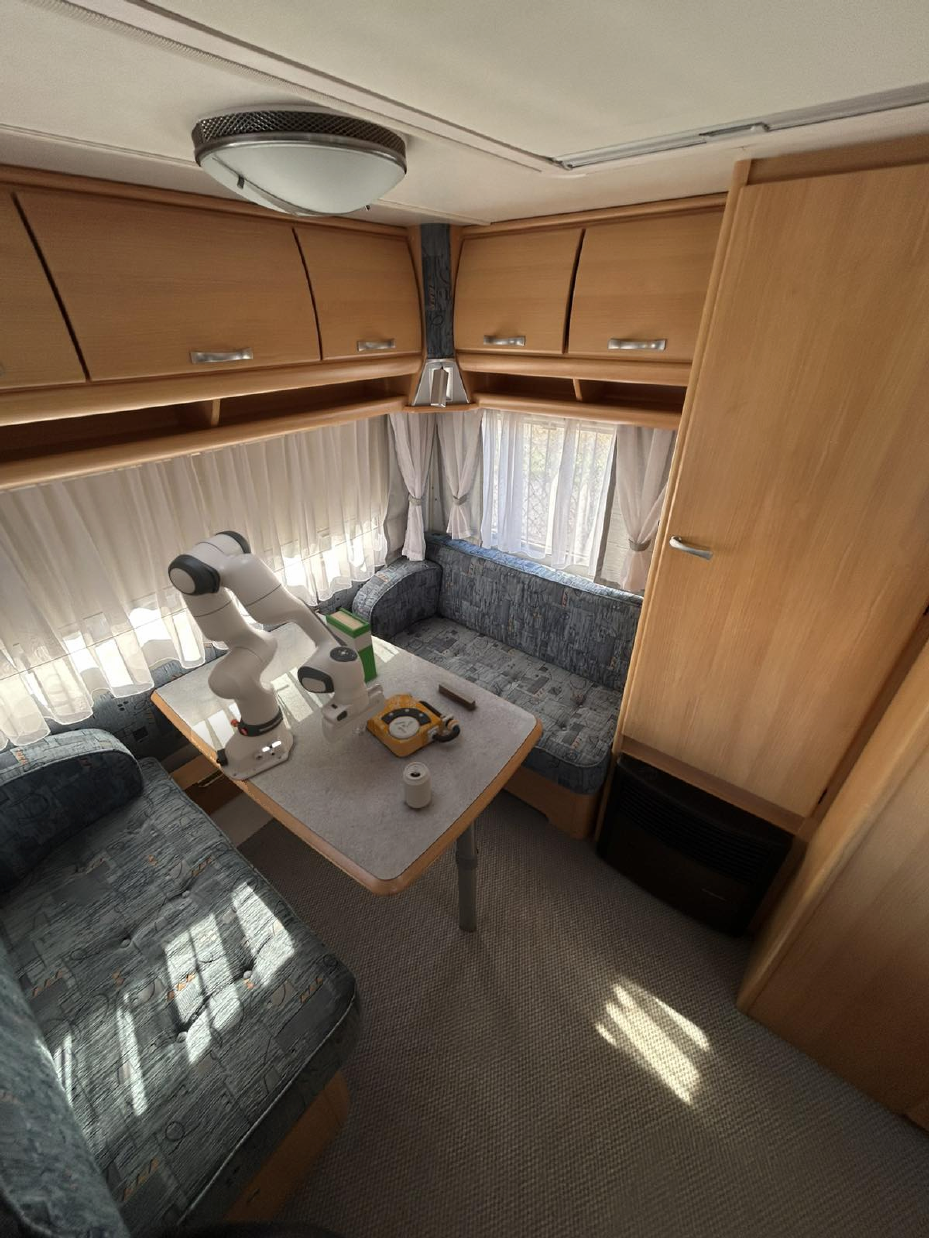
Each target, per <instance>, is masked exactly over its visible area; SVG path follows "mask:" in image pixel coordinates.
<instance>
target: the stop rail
mask: <svg viewBox="0 0 929 1238" xmlns="http://www.w3.org/2000/svg"><path fill="white" fill-rule="evenodd" d="M438 692H439V693H440V694H442V695H444V697H447V698H448V699H450V700H451V701H454V702H455V703H457V704H458V705H459V706H462V707H464V708H466V709H467V710H468V711H470V712H472V711H473V710H475V709H476V699H474V698H472V697H471V696H469V695H468V694H465V693H464V692H462V691H461V690H459V689H457V688H455V687H453V686H452V685H450V684H449V683H447V682H445V681H442V682H440V683H439V684H438Z"/></svg>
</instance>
